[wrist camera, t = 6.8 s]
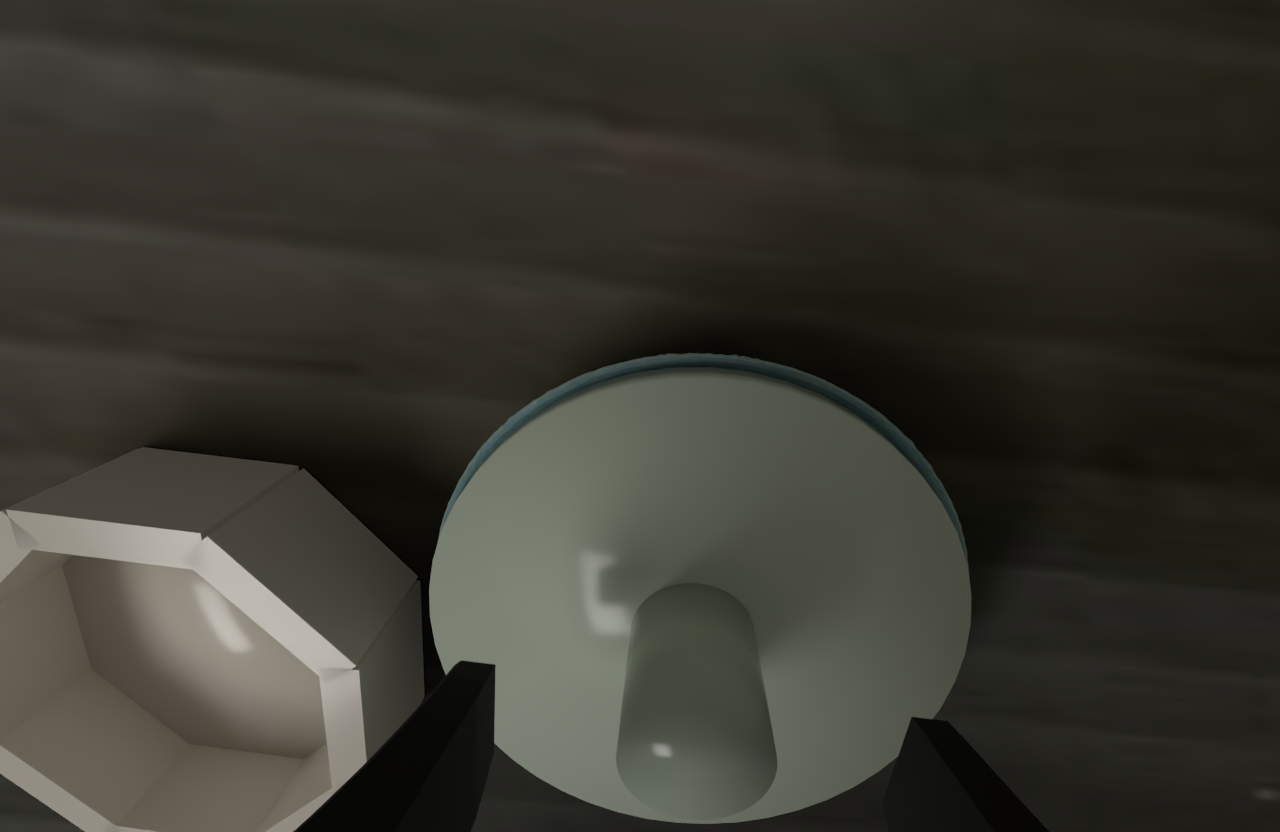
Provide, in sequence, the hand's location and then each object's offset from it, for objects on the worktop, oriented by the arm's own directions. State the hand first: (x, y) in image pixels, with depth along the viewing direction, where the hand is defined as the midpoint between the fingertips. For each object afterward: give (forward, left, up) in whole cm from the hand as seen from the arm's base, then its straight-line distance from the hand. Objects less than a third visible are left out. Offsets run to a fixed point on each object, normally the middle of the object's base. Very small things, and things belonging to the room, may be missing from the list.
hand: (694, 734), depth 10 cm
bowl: (+6, +11, -5) cm, 14 cm away
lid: (0, 0, -3) cm, 3 cm away
